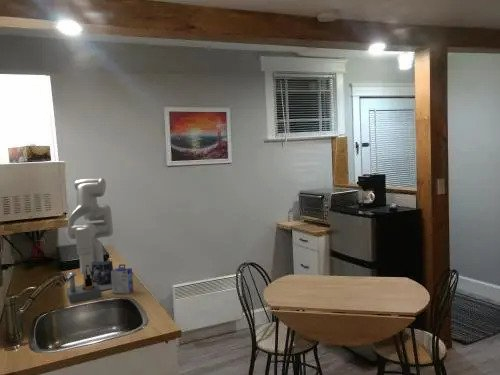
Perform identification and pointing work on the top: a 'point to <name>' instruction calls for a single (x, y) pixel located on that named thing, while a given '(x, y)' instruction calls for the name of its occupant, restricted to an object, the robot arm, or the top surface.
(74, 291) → the socket block
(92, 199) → the robot arm
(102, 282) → the small box
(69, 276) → the clip
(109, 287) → the pad
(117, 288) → the ink cartridge box
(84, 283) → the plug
